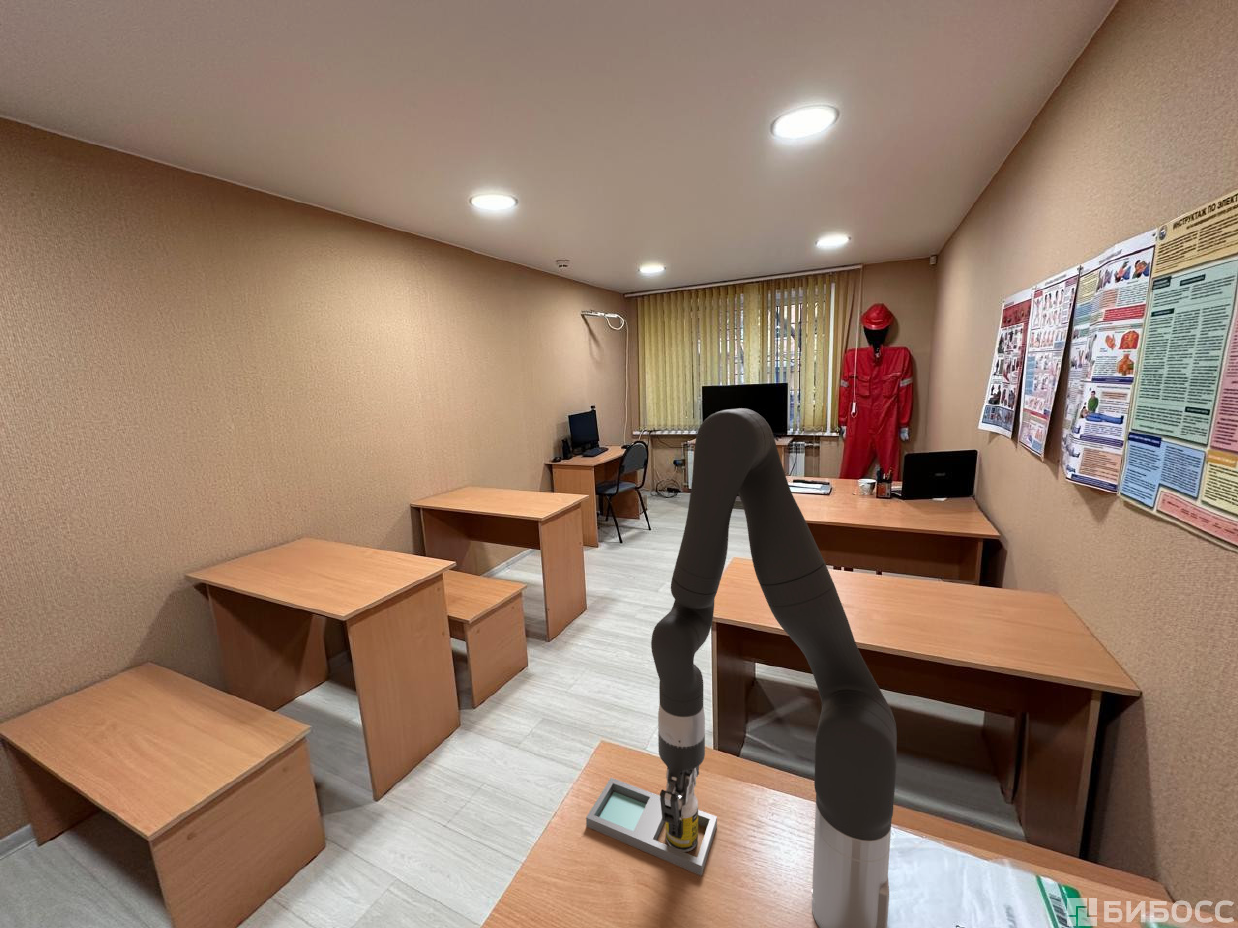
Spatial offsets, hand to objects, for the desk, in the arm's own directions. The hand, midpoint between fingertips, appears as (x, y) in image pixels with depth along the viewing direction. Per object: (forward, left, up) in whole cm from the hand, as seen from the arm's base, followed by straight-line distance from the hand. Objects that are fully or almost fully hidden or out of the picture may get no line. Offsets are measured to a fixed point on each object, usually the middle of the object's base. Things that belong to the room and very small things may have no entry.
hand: (681, 819), depth 79 cm
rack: (+5, 0, -3) cm, 7 cm away
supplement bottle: (0, 0, -4) cm, 4 cm away
